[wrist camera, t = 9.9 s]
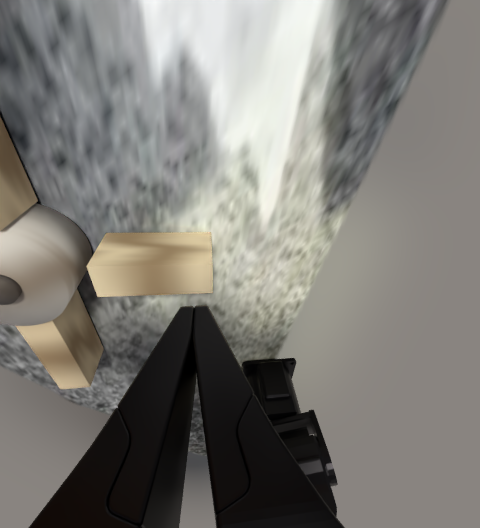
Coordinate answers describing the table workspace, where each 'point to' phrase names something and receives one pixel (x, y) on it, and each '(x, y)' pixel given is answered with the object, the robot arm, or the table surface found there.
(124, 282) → the folding leg
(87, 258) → the stool base
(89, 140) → the table surface
